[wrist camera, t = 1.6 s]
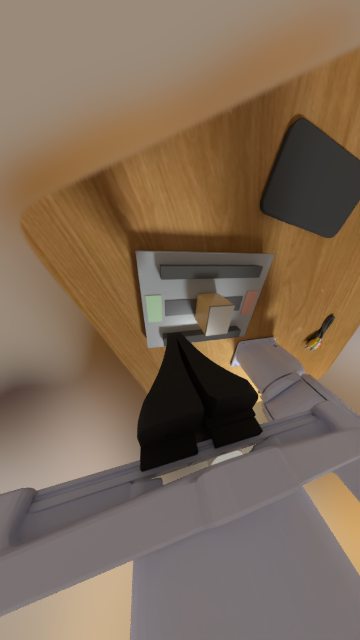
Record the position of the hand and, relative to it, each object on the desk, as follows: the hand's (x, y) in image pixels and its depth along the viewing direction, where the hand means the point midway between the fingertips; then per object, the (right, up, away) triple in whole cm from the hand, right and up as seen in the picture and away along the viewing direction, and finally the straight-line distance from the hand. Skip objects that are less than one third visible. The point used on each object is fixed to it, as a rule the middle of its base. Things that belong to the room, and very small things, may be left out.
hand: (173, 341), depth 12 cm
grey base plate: (+4, +5, +9) cm, 11 cm away
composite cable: (+37, -1, +22) cm, 43 cm away
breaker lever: (+4, +4, +7) cm, 9 cm away
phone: (+18, +19, +5) cm, 26 cm away
